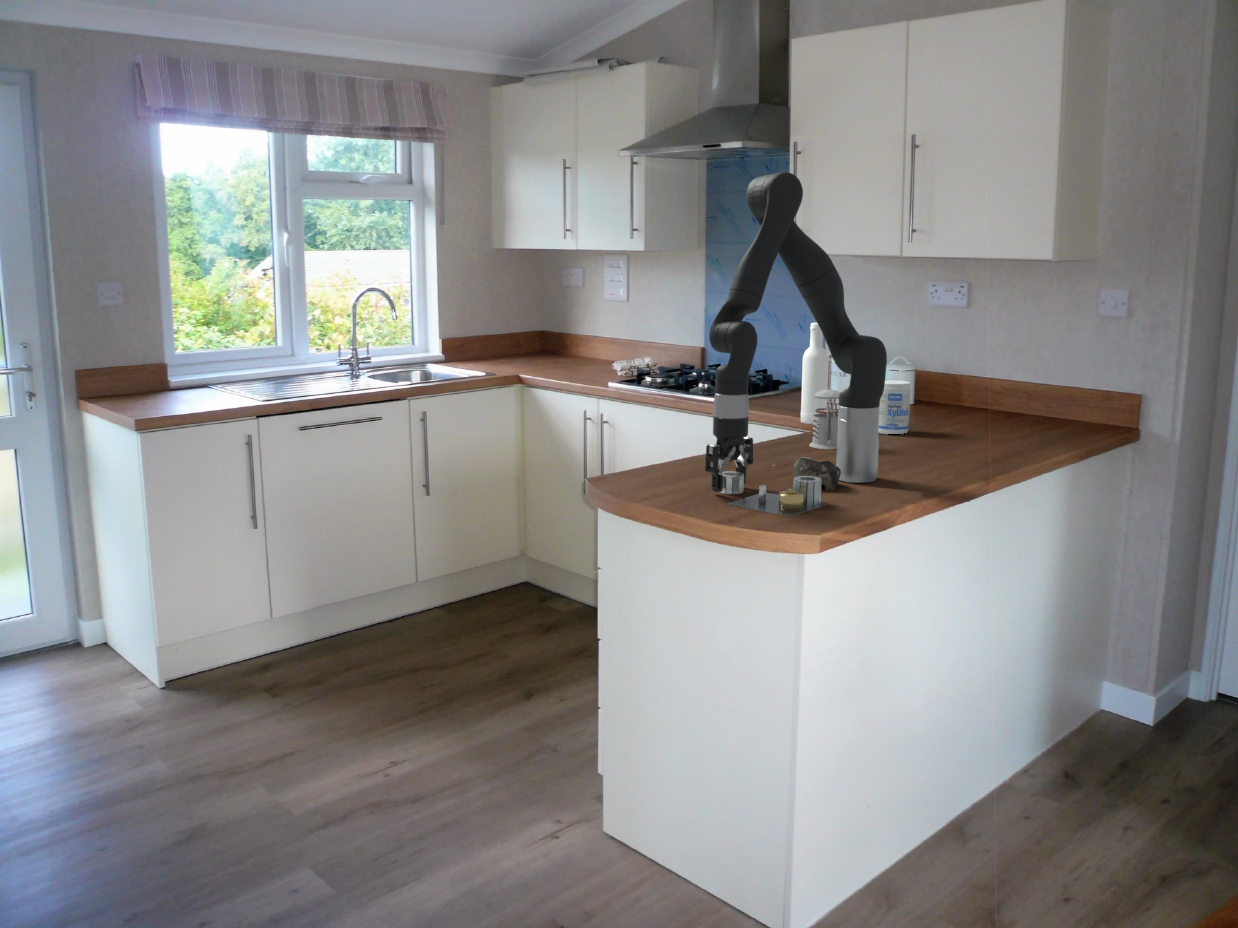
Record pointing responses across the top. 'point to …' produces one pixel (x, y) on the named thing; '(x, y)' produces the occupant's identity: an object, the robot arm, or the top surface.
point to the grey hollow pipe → (809, 489)
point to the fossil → (817, 471)
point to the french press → (826, 420)
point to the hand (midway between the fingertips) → (728, 488)
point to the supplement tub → (894, 407)
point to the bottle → (814, 376)
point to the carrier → (777, 502)
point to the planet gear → (732, 482)
